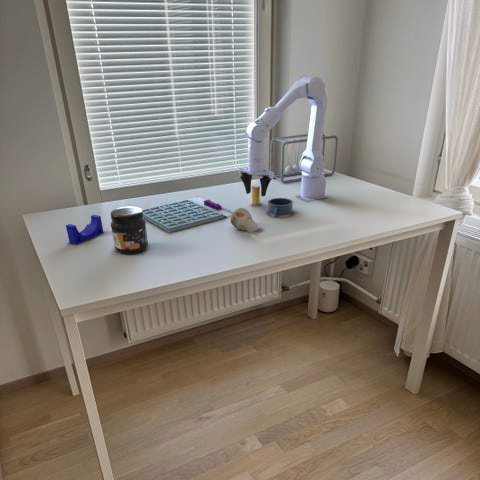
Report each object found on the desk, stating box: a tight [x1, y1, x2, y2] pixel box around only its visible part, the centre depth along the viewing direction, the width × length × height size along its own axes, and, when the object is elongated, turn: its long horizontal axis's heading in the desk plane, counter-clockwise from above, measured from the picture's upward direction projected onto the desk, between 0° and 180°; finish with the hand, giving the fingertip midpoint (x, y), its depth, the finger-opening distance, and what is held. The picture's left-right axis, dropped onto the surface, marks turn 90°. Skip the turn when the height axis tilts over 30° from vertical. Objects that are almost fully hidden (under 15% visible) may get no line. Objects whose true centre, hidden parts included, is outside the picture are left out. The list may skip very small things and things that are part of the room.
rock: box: [230, 207, 260, 234], centre depth 155 cm, size 8×10×10 cm
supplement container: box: [110, 206, 149, 255], centre depth 141 cm, size 10×10×12 cm
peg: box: [251, 184, 261, 205], centre depth 177 cm, size 3×3×8 cm
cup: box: [267, 197, 294, 218], centre depth 169 cm, size 12×9×4 cm
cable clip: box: [65, 214, 104, 246], centre depth 152 cm, size 12×4×6 cm, turn 148°
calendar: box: [141, 196, 227, 233], centre depth 172 cm, size 27×29×2 cm
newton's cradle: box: [269, 132, 339, 184], centre depth 210 cm, size 30×10×18 cm, turn 118°
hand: (256, 194), depth 177 cm, fingers open, 6 cm apart
